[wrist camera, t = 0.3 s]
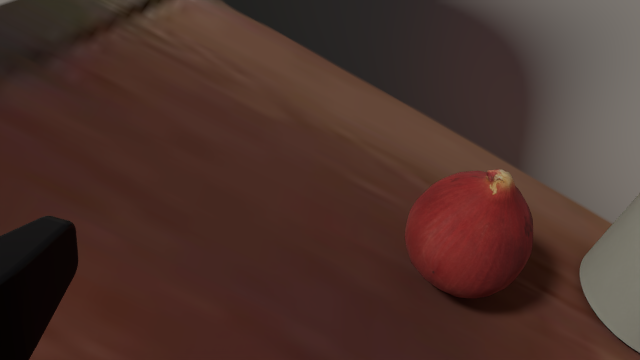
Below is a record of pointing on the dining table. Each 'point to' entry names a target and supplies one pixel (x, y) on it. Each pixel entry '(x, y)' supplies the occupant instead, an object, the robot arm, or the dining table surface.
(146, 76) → the dining table surface
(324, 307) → the dining table surface
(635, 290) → the travel mug
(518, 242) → the onion
